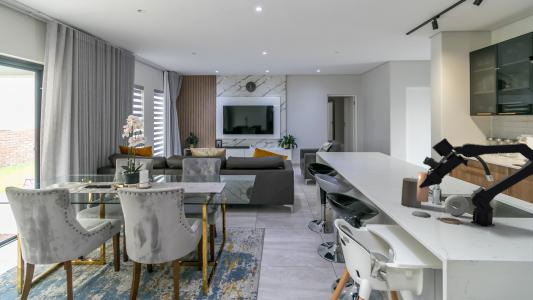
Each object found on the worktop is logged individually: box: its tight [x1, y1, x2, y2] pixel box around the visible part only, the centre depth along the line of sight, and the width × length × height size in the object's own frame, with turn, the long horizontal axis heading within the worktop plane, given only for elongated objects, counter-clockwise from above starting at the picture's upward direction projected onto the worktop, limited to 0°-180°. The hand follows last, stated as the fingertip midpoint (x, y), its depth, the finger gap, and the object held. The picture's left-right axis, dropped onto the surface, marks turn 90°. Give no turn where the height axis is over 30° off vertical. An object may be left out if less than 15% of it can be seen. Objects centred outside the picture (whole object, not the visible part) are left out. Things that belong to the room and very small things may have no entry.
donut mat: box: [440, 217, 462, 225], centre depth 143 cm, size 8×8×1 cm
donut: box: [443, 194, 470, 217], centre depth 152 cm, size 10×3×10 cm, turn 68°
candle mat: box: [411, 210, 431, 218], centre depth 153 cm, size 8×8×1 cm
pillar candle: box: [400, 176, 422, 209], centre depth 169 cm, size 10×10×15 cm
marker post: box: [416, 171, 430, 203], centre depth 150 cm, size 5×5×13 cm
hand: (419, 186), depth 151 cm, fingers closed on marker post, 5 cm apart
